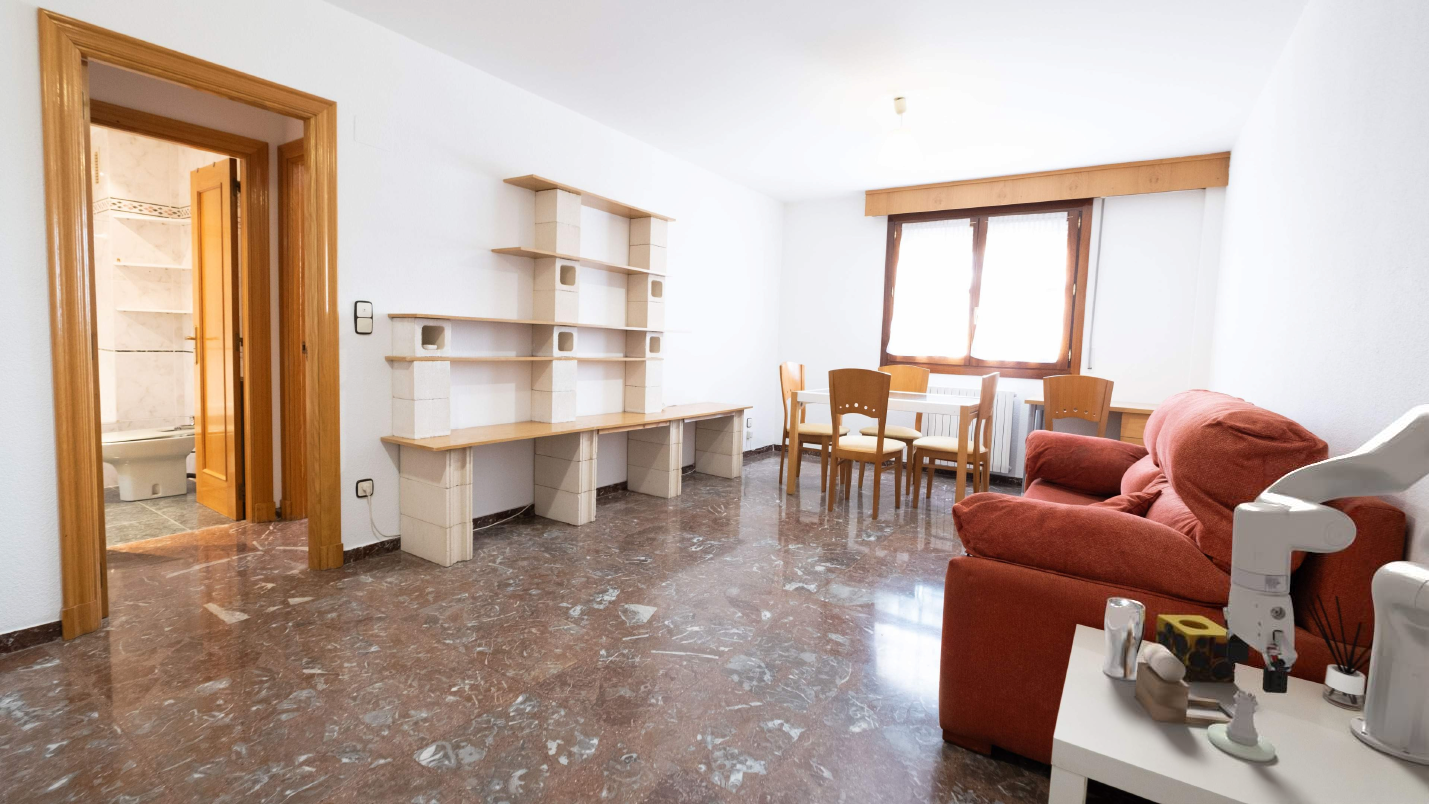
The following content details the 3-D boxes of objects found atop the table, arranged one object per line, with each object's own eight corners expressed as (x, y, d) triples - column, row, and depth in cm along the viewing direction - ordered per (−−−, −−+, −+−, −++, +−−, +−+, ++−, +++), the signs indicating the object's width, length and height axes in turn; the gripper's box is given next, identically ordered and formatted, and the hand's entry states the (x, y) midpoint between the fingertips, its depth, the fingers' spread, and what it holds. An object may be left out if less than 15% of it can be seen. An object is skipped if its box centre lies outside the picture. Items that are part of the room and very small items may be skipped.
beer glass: (1146, 684, 131) (1152, 612, 130) (1107, 680, 133) (1114, 608, 131) (1131, 667, 138) (1137, 598, 137) (1095, 663, 140) (1101, 595, 138)
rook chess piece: (1260, 750, 109) (1265, 704, 108) (1226, 741, 111) (1231, 696, 111) (1255, 736, 113) (1260, 692, 112) (1223, 728, 115) (1227, 684, 114)
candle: (1235, 683, 133) (1240, 636, 132) (1185, 682, 133) (1189, 634, 132) (1199, 659, 143) (1203, 614, 142) (1152, 657, 143) (1156, 613, 142)
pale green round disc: (1252, 732, 116) (1253, 726, 116) (1288, 764, 107) (1288, 759, 107) (1196, 726, 117) (1196, 720, 117) (1226, 757, 109) (1227, 752, 108)
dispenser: (1220, 705, 124) (1226, 647, 123) (1246, 730, 116) (1253, 668, 115) (1134, 696, 127) (1139, 639, 126) (1155, 720, 119) (1160, 660, 118)
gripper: (1324, 600, 100) (1318, 706, 102) (1252, 560, 117) (1247, 652, 119) (1268, 598, 101) (1263, 703, 103) (1205, 560, 118) (1201, 650, 120)
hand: (1255, 676), depth 111 cm, fingers open, 9 cm apart
